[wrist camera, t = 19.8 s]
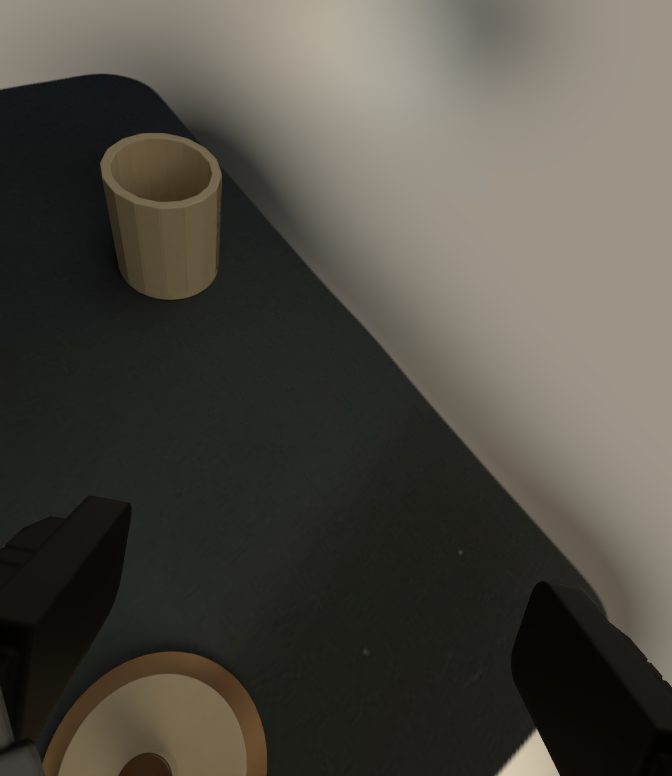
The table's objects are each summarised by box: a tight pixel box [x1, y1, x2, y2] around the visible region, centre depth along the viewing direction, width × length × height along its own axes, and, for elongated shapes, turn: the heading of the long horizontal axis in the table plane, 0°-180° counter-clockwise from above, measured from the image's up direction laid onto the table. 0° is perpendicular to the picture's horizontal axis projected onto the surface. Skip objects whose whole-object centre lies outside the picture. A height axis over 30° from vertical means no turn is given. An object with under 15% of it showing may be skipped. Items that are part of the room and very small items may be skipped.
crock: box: [100, 133, 222, 300], centre depth 38 cm, size 7×7×8 cm
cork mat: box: [42, 651, 267, 776], centre depth 25 cm, size 10×10×1 cm
